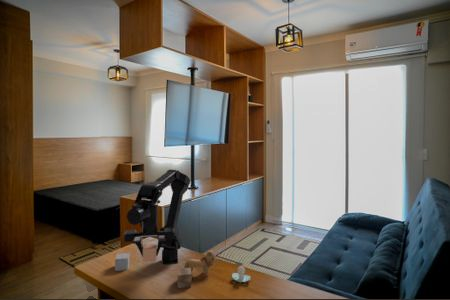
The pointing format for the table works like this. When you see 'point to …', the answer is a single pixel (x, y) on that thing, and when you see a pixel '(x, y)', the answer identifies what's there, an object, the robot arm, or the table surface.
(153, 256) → the terracotta block
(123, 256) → the slate grey block
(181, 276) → the walnut block
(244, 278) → the pacifier
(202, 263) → the lion figurine
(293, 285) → the table surface
